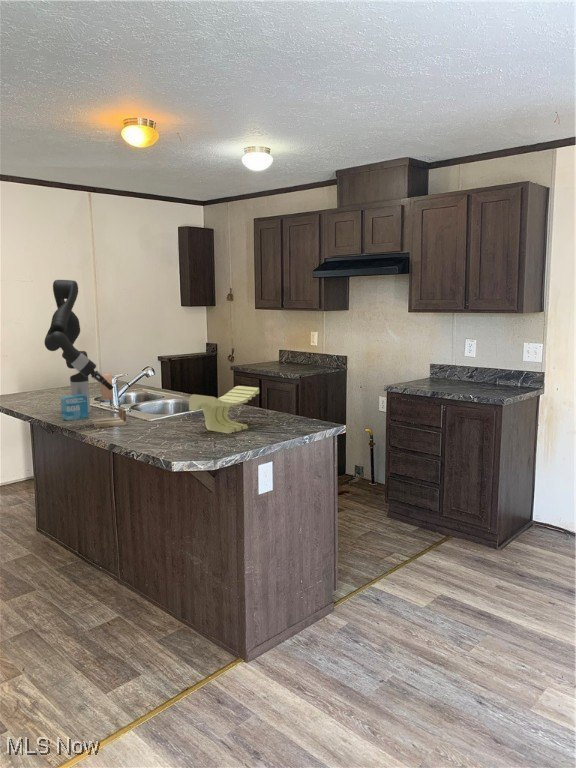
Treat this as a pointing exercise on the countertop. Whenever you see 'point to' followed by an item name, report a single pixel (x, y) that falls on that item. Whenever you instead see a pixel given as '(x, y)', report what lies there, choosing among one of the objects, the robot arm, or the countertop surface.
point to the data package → (74, 407)
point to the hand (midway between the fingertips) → (110, 387)
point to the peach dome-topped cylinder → (105, 391)
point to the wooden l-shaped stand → (112, 420)
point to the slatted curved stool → (222, 408)
